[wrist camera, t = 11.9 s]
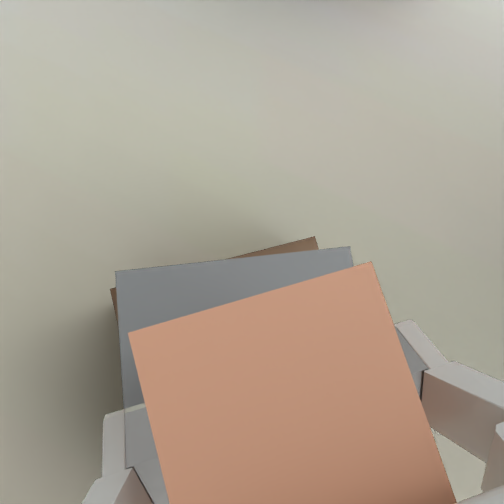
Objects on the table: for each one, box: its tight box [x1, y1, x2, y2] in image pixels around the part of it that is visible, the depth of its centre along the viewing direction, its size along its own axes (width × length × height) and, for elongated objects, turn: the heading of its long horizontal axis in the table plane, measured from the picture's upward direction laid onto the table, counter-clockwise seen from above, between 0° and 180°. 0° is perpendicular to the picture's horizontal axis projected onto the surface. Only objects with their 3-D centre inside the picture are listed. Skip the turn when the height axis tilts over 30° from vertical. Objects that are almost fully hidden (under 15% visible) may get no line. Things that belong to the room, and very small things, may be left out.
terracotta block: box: [128, 262, 457, 504], centre depth 12 cm, size 5×5×8 cm
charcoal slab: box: [115, 246, 353, 409], centre depth 20 cm, size 10×10×4 cm
